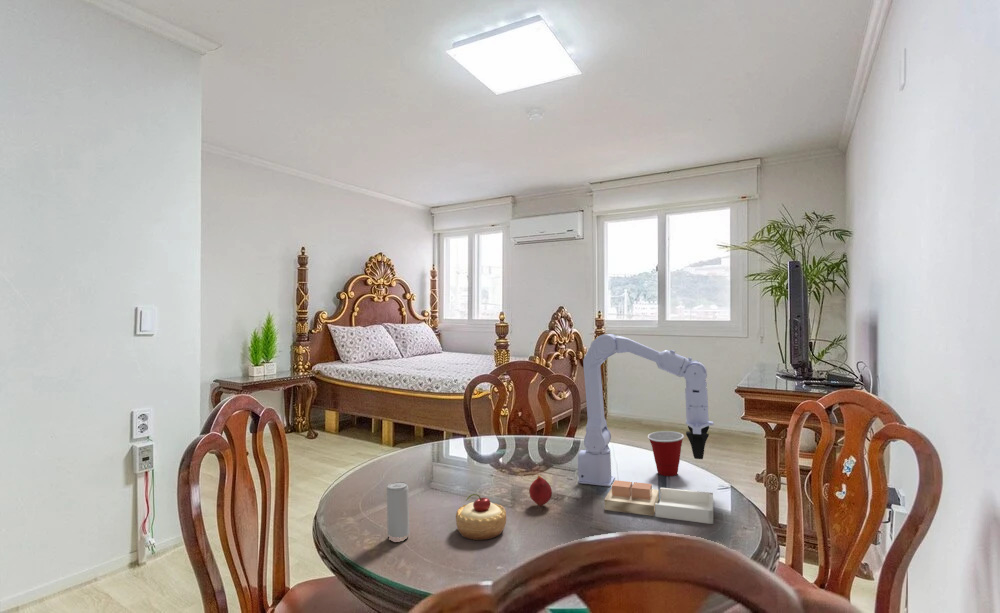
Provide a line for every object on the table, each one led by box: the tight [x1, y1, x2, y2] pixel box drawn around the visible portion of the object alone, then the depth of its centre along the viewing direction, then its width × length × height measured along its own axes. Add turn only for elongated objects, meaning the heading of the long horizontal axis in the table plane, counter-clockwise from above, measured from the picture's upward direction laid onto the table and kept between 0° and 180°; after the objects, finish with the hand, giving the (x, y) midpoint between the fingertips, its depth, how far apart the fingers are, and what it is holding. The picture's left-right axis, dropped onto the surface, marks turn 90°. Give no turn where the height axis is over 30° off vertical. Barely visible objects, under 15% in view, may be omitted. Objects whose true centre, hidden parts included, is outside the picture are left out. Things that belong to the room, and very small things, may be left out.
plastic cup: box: [647, 430, 685, 477], centre depth 150 cm, size 11×11×12 cm
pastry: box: [455, 493, 507, 541], centre depth 112 cm, size 12×12×9 cm
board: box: [603, 487, 660, 517], centre depth 126 cm, size 12×12×2 cm
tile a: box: [611, 479, 633, 497], centre depth 127 cm, size 4×4×2 cm
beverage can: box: [386, 481, 410, 538], centre depth 110 cm, size 5×5×12 cm
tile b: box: [632, 482, 653, 500], centre depth 125 cm, size 4×4×2 cm
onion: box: [528, 474, 553, 507], centre depth 127 cm, size 6×6×8 cm
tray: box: [654, 487, 714, 525], centre depth 121 cm, size 13×13×3 cm
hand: (698, 455), depth 133 cm, fingers open, 7 cm apart
